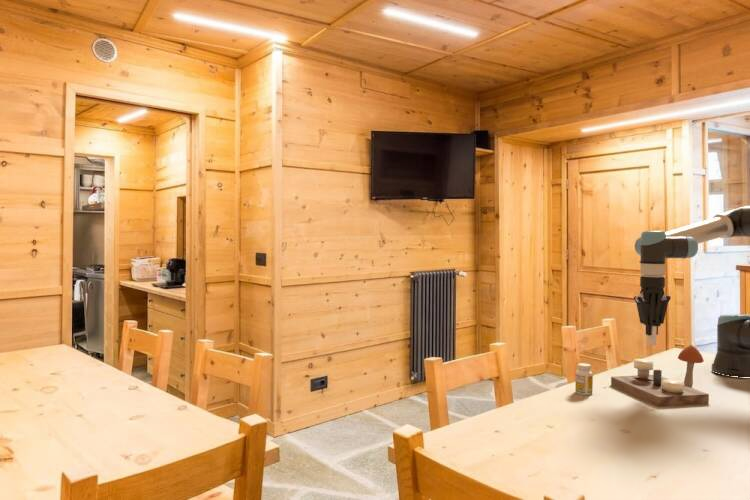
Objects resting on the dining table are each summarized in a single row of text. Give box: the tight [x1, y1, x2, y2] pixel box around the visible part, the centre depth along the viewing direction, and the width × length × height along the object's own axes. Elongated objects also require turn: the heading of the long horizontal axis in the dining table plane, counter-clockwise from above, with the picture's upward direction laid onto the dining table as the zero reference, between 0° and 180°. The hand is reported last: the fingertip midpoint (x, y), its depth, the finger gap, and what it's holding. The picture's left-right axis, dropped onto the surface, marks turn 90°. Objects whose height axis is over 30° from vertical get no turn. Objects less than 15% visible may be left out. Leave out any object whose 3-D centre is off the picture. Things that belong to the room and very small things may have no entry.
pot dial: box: [652, 368, 662, 386], centre depth 179 cm, size 2×2×5 cm
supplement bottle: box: [575, 362, 594, 396], centre depth 180 cm, size 5×5×10 cm
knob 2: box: [662, 379, 684, 394], centre depth 172 cm, size 6×6×6 cm
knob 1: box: [633, 358, 654, 378], centre depth 186 cm, size 6×6×6 cm
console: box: [610, 374, 710, 408], centre depth 179 cm, size 18×24×3 cm
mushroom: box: [677, 344, 705, 388], centre depth 187 cm, size 8×8×15 cm
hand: (651, 344), depth 182 cm, fingers closed
